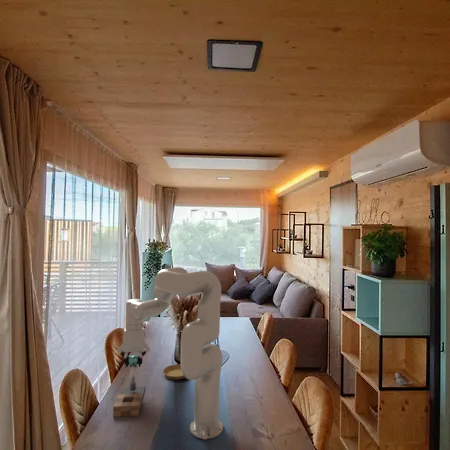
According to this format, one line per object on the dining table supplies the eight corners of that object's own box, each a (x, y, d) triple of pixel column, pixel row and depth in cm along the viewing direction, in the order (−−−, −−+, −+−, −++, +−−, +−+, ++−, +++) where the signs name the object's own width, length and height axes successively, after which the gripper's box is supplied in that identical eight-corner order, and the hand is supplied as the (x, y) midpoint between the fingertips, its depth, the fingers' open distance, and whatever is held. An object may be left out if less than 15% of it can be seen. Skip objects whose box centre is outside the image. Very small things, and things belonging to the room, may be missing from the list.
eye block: (138, 415, 131) (138, 405, 132) (113, 416, 130) (113, 406, 130) (141, 402, 141) (141, 393, 141) (118, 403, 140) (118, 394, 140)
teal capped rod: (139, 386, 151) (139, 354, 152) (137, 391, 147) (138, 358, 147) (128, 387, 151) (128, 354, 151) (126, 392, 146) (127, 358, 146)
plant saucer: (164, 383, 160) (164, 377, 160) (161, 370, 174) (162, 365, 174) (193, 379, 164) (193, 374, 164) (189, 367, 178) (189, 363, 178)
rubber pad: (142, 398, 144) (142, 397, 144) (119, 399, 143) (119, 398, 143) (145, 387, 154) (145, 386, 154) (123, 388, 153) (123, 387, 153)
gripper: (153, 323, 154) (152, 361, 154) (116, 324, 152) (116, 363, 152) (152, 328, 147) (151, 368, 146) (113, 329, 144) (112, 370, 144)
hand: (133, 365), depth 149 cm, fingers closed on teal capped rod, 5 cm apart
